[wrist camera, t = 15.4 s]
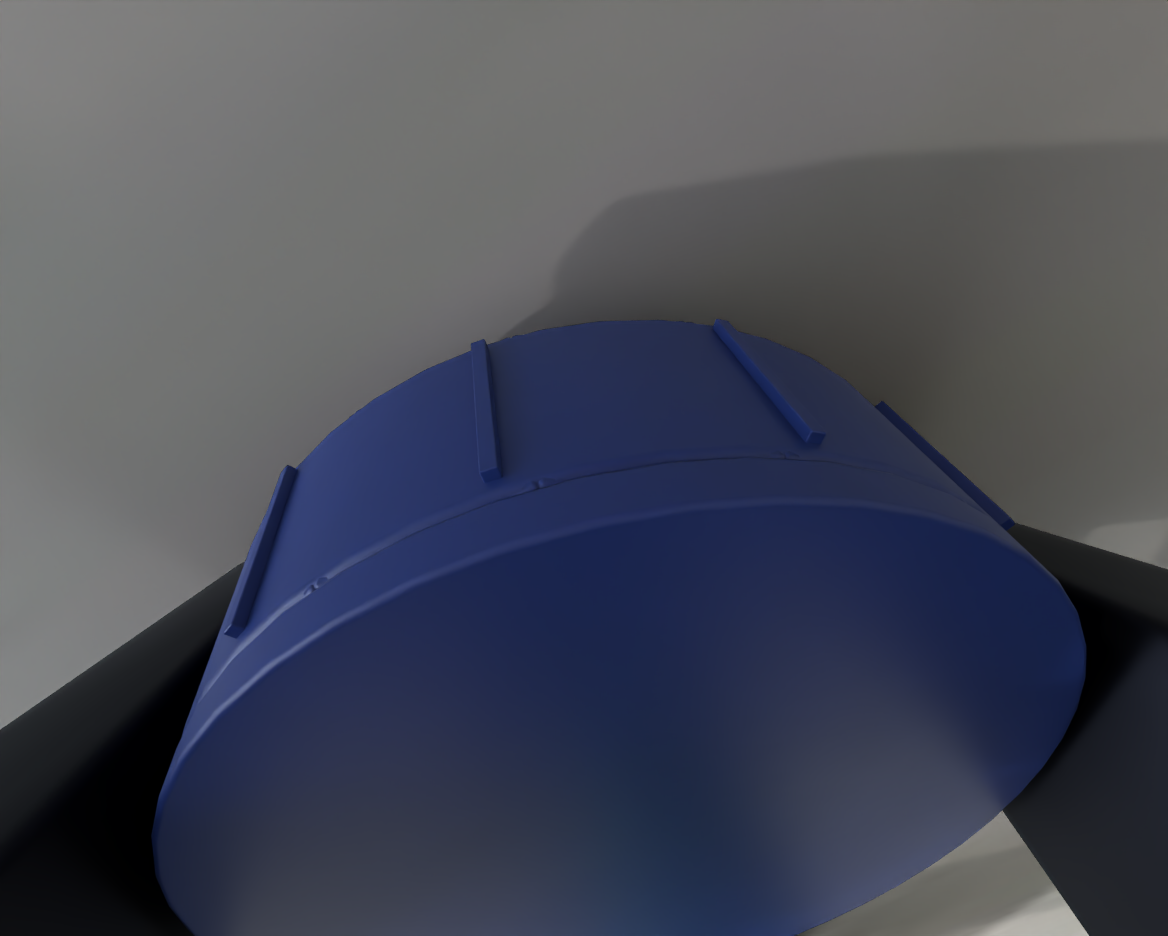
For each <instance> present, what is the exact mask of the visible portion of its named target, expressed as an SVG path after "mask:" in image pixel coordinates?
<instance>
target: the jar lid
mask: <svg viewBox="0 0 1168 936" xmlns="http://www.w3.org/2000/svg"><path fill="white" fill-rule="evenodd" d="M1014 525H1015V523H1014V521H1013V520H1012V519H1011V518H1010V517H1009V516H1008V515H1007V514H1006V513H1005V512H1004V511H1003V510H1002V509H1001V508H1000V507H998V506H997V505H996V504H995V503H994V502H993V501H992V500H991V499H990V498H989V497H987V496H986V495H985V494H984V493H983V492H982V491H981V490H980V489H979V488H978V487H976V486H975V485H974V484H973V483H972V482H971V481H970V480H969V479H968V478H967V477H966V476H964V475H963V474H962V473H961V472H960V471H959V470H958V469H957V468H956V467H955V466H953V465H952V464H951V463H950V462H949V461H948V460H947V459H946V458H945V457H944V456H943V455H941V454H940V453H939V452H938V451H937V450H936V449H935V448H934V447H933V446H932V445H930V444H929V443H928V442H927V441H926V440H925V439H924V438H923V437H922V436H921V435H919V434H918V433H917V432H916V431H915V430H914V429H913V428H912V427H911V426H910V425H909V424H907V423H906V422H905V421H904V420H903V419H902V418H901V417H900V416H899V415H898V414H896V413H895V412H894V411H893V410H892V409H891V408H890V407H889V406H888V405H887V404H885V403H884V402H883V401H881V402H880V403H879V404H877V405H876V406H875V407H874V406H873V405H872V404H871V403H870V402H869V401H868V400H867V399H866V398H864V397H863V396H862V395H861V394H860V393H859V392H858V391H857V390H856V389H855V388H854V387H853V386H852V385H851V384H849V383H848V382H847V381H846V380H845V379H843V378H842V377H840V376H839V375H837V374H835V373H834V372H832V371H831V370H829V369H828V368H826V367H825V366H823V365H821V364H820V363H818V362H817V361H815V360H814V359H812V358H810V357H808V356H806V355H804V354H801V353H799V352H797V351H794V350H792V349H790V348H787V347H785V346H782V345H780V344H778V343H775V342H773V341H771V340H768V339H766V338H762V337H758V336H754V335H750V334H746V333H742V332H738V331H737V330H736V329H735V328H734V327H733V326H732V325H731V324H730V323H729V321H726V320H721V319H716V320H715V323H714V326H712V325H703V324H695V323H692V322H686V323H685V322H683V321H676V322H675V321H666V320H631V321H598V322H591V323H584V324H578V325H571V326H564V327H557V328H551V329H544V330H539V331H535V332H532V333H528V334H524V335H515V336H513V337H512V338H505V339H503V340H501V341H499V342H495V343H492V344H488V345H487V344H486V341H485V340H484V339H482V340H479V341H477V342H474V343H471V351H469V352H467V353H464V354H462V355H460V356H457V357H455V358H452V359H450V360H448V361H445V362H443V363H440V364H438V365H435V366H433V367H431V368H428V369H426V370H424V371H422V372H421V373H419V374H417V375H415V376H414V377H412V378H410V379H408V380H407V381H405V382H403V383H401V384H400V385H398V386H396V387H394V388H393V389H391V390H389V391H387V392H386V393H384V394H382V395H380V396H379V397H377V398H375V399H374V400H372V401H371V402H370V403H368V404H367V405H366V406H365V407H363V408H362V409H360V410H358V411H357V412H356V413H355V414H354V415H352V416H350V417H349V419H348V420H346V421H345V422H344V423H342V424H341V425H340V426H339V427H337V428H336V429H335V430H333V431H332V432H331V433H330V434H329V435H328V436H327V437H326V438H325V439H324V440H323V441H322V442H321V443H320V444H319V445H318V446H317V447H316V448H315V449H314V450H313V451H312V452H311V453H310V454H309V455H308V456H307V457H306V459H305V460H304V461H303V462H302V463H301V464H300V465H299V466H298V467H297V468H296V469H295V468H293V467H291V466H289V465H287V466H286V467H285V469H284V470H283V471H282V472H281V474H280V477H279V480H278V482H277V485H276V488H275V491H274V494H273V496H272V499H271V502H270V505H269V507H268V510H267V512H266V514H265V516H264V519H263V521H262V523H261V525H260V527H259V530H258V532H257V534H256V536H255V538H254V540H253V543H252V545H251V547H250V550H249V553H248V556H247V558H246V561H245V564H244V566H243V569H242V572H241V575H240V577H239V580H238V583H237V585H236V588H235V591H234V594H233V596H232V599H231V602H230V604H229V607H228V610H227V613H226V615H225V618H224V621H223V623H222V626H221V629H220V632H219V634H218V637H217V640H216V642H215V645H214V648H213V651H212V653H211V656H210V659H209V661H208V664H207V667H206V670H205V672H204V675H203V678H202V680H201V683H200V686H199V689H198V691H197V694H196V697H195V699H194V702H193V705H192V708H191V710H190V713H189V716H188V718H187V721H186V724H185V727H184V730H183V735H182V738H181V740H180V742H179V744H178V746H177V748H176V751H175V754H174V756H173V759H172V762H171V765H170V767H169V770H168V773H167V775H166V778H165V781H164V784H163V786H162V789H161V792H160V794H159V798H158V803H157V808H156V813H155V818H154V824H153V829H152V834H151V839H152V848H153V857H154V866H155V875H156V878H157V881H158V883H159V885H160V887H161V890H162V892H163V894H164V896H165V899H166V901H167V903H168V905H169V907H170V908H171V909H172V911H173V912H174V913H175V914H176V916H177V917H178V918H179V919H180V920H181V922H182V923H183V924H184V925H185V927H186V928H187V929H188V930H189V931H190V932H191V933H192V934H193V935H195V936H795V935H797V934H799V933H802V932H804V931H806V930H809V929H811V928H814V927H816V926H818V925H821V924H823V923H825V922H828V921H830V920H832V919H834V918H836V917H838V916H840V915H842V914H844V913H846V912H849V911H851V910H853V909H855V908H857V907H859V906H861V905H863V904H865V903H867V902H869V901H871V900H872V899H874V898H876V897H878V896H880V895H882V894H884V893H885V892H887V891H889V890H891V889H893V888H895V887H896V886H898V885H900V884H902V883H903V882H905V881H906V880H908V879H910V878H911V877H913V876H915V875H916V874H918V873H920V872H921V871H923V870H924V869H926V868H928V867H929V866H931V865H932V864H934V863H935V862H937V861H938V860H940V859H941V858H942V857H944V856H945V855H947V854H948V853H950V852H951V851H952V850H954V849H955V848H957V847H958V846H960V845H961V844H962V843H964V842H965V841H966V840H967V839H969V838H970V837H971V836H972V835H974V834H975V833H976V832H977V831H979V830H980V829H981V828H982V827H984V826H985V825H986V824H987V823H989V822H990V821H991V820H992V819H993V818H994V817H995V816H996V815H997V814H999V813H1000V812H1001V811H1002V810H1003V809H1004V808H1005V807H1006V806H1007V805H1008V804H1009V803H1010V802H1011V801H1012V800H1013V799H1014V798H1016V797H1017V796H1018V795H1019V794H1020V793H1021V791H1022V790H1023V789H1024V788H1025V787H1026V786H1027V785H1028V783H1029V782H1030V781H1031V780H1032V779H1033V778H1034V777H1035V775H1036V774H1037V773H1038V772H1039V771H1040V770H1041V769H1042V768H1043V766H1044V765H1045V763H1046V762H1047V760H1048V759H1049V758H1050V756H1051V755H1052V753H1053V752H1054V750H1055V749H1056V747H1057V746H1058V744H1059V743H1060V742H1061V740H1062V739H1063V737H1064V735H1065V733H1066V731H1067V729H1068V726H1069V724H1070V722H1071V720H1072V718H1073V716H1074V714H1075V712H1076V710H1077V708H1078V704H1079V700H1080V697H1081V693H1082V689H1083V686H1084V682H1085V678H1086V643H1085V639H1084V635H1083V631H1082V627H1081V623H1080V619H1079V616H1078V613H1077V610H1076V609H1075V607H1074V605H1073V604H1072V602H1071V601H1070V599H1069V597H1068V596H1067V594H1066V592H1065V591H1064V589H1063V587H1062V586H1061V584H1060V582H1059V581H1058V580H1057V579H1056V578H1055V577H1054V576H1053V575H1052V574H1051V573H1050V572H1049V571H1048V570H1047V569H1046V568H1045V567H1044V566H1043V565H1042V564H1041V563H1039V562H1038V561H1037V560H1036V559H1035V558H1034V557H1033V556H1032V555H1031V554H1030V553H1029V552H1028V551H1027V550H1026V549H1025V548H1024V547H1022V546H1021V545H1020V544H1019V543H1018V542H1017V541H1016V540H1015V539H1014V538H1013V537H1012V536H1011V535H1010V534H1009V533H1008V532H1007V530H1008V529H1010V528H1011V527H1013V526H1014Z"/></svg>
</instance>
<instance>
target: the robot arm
mask: <svg viewBox="0 0 1168 936" xmlns="http://www.w3.org/2000/svg"><path fill="white" fill-rule="evenodd" d="M1007 532H1008V533H1009V534H1010V535H1011V536H1012V537H1013V538H1014V539H1015V540H1016V541H1017V542H1018V543H1019V544H1020V545H1021V546H1022V547H1024V548H1025V549H1026V550H1027V551H1028V552H1029V553H1030V554H1031V555H1032V556H1033V557H1034V558H1035V559H1036V560H1037V561H1038V562H1039V563H1041V564H1042V565H1043V566H1044V567H1045V568H1046V569H1047V570H1048V571H1049V572H1050V573H1051V574H1052V575H1053V576H1054V577H1055V578H1056V579H1057V580H1058V581H1059V582H1060V584H1061V586H1062V587H1063V589H1064V591H1065V592H1066V594H1067V596H1068V597H1069V599H1070V601H1071V602H1072V604H1073V605H1074V607H1075V609H1076V610H1077V613H1078V616H1079V619H1080V623H1081V627H1082V631H1083V635H1084V639H1085V643H1086V678H1085V682H1084V686H1083V689H1082V693H1081V697H1080V700H1079V704H1078V708H1077V710H1076V712H1075V714H1074V716H1073V718H1072V720H1071V722H1070V724H1069V726H1068V729H1067V731H1066V733H1065V735H1064V737H1063V739H1062V740H1061V742H1060V743H1059V744H1058V746H1057V747H1056V749H1055V750H1054V752H1053V753H1052V755H1051V756H1050V758H1049V759H1048V760H1047V762H1046V763H1045V765H1044V766H1043V768H1042V769H1041V770H1040V771H1039V772H1038V773H1037V774H1036V775H1035V777H1034V778H1033V779H1032V780H1031V781H1030V782H1029V783H1028V785H1027V786H1026V787H1025V788H1024V789H1023V790H1022V791H1021V793H1020V794H1019V795H1018V796H1017V797H1016V798H1014V799H1013V800H1012V801H1011V802H1010V803H1009V804H1008V805H1007V806H1006V807H1005V808H1004V809H1003V812H1004V813H1005V815H1006V816H1007V818H1008V819H1009V821H1010V822H1011V823H1012V825H1013V826H1014V828H1015V829H1016V831H1017V832H1018V834H1019V835H1020V836H1021V838H1022V839H1023V841H1024V842H1025V844H1026V845H1027V847H1028V848H1029V849H1030V851H1031V852H1032V854H1033V855H1034V857H1035V858H1036V859H1037V861H1038V862H1039V864H1040V865H1041V867H1042V868H1043V870H1044V871H1045V872H1046V874H1047V875H1048V877H1049V878H1050V880H1051V881H1052V883H1053V884H1054V885H1055V887H1056V888H1057V890H1058V891H1059V893H1060V894H1061V896H1062V897H1063V898H1064V900H1065V901H1066V903H1067V904H1068V906H1069V907H1070V909H1071V910H1072V911H1073V913H1074V914H1075V916H1076V917H1077V919H1078V920H1079V921H1080V923H1081V924H1082V926H1083V927H1084V929H1085V930H1086V932H1087V933H1088V934H1089V936H1168V569H1165V568H1161V567H1158V566H1155V565H1152V564H1148V563H1145V562H1142V561H1138V560H1135V559H1132V558H1129V557H1125V556H1122V555H1119V554H1116V553H1112V552H1109V551H1106V550H1102V549H1099V548H1096V547H1093V546H1089V545H1086V544H1083V543H1080V542H1076V541H1073V540H1070V539H1066V538H1063V537H1060V536H1057V535H1053V534H1050V533H1047V532H1044V531H1040V530H1037V529H1034V528H1030V527H1027V526H1024V525H1021V524H1017V523H1015V525H1014V526H1013V527H1011V528H1010V529H1008V530H1007ZM244 564H245V562H243V563H241V564H240V565H238V566H237V567H235V568H234V569H232V570H231V571H229V572H228V573H227V574H225V575H224V576H222V577H221V578H219V579H218V580H216V581H215V582H213V583H212V584H211V585H209V586H208V587H206V588H205V589H203V590H202V591H200V592H199V593H198V594H196V595H195V596H193V597H192V598H190V599H189V600H187V601H186V602H185V603H183V604H182V605H180V606H179V607H177V608H176V609H174V610H173V611H172V612H170V613H169V614H167V615H166V616H164V617H163V618H161V619H160V620H158V621H157V622H156V623H154V624H153V625H151V626H150V627H148V628H147V629H145V630H144V631H143V632H141V633H140V634H138V635H137V636H135V637H134V638H132V639H131V640H130V641H128V642H127V643H125V644H124V645H122V646H121V647H119V648H118V649H117V650H115V651H114V652H112V653H111V654H109V655H108V656H106V657H105V658H103V659H102V660H101V661H99V662H98V663H96V664H95V665H93V666H92V667H90V668H89V669H88V670H86V671H85V672H83V673H82V674H80V675H79V676H77V677H76V678H75V679H73V680H72V681H70V682H69V683H67V684H66V685H64V686H63V687H62V688H60V689H59V690H57V691H56V692H54V693H53V694H51V695H50V696H48V697H47V698H46V699H44V700H43V701H41V702H40V703H38V704H37V705H35V706H34V707H33V708H31V709H30V710H28V711H27V712H25V713H24V714H22V715H21V716H20V717H18V718H17V719H15V720H14V721H12V722H11V723H9V724H8V725H7V726H5V727H4V728H2V729H1V730H0V936H195V935H193V934H192V933H191V932H190V931H189V930H188V929H187V928H186V927H185V925H184V924H183V923H182V922H181V920H180V919H179V918H178V917H177V916H176V914H175V913H174V912H173V911H172V909H171V908H170V907H169V905H168V903H167V901H166V899H165V896H164V894H163V892H162V890H161V887H160V885H159V883H158V881H157V878H156V875H155V866H154V857H153V848H152V839H151V834H152V829H153V824H154V818H155V813H156V808H157V803H158V798H159V794H160V792H161V789H162V786H163V784H164V781H165V778H166V775H167V773H168V770H169V767H170V765H171V762H172V759H173V756H174V754H175V751H176V748H177V746H178V744H179V742H180V740H181V738H182V735H183V730H184V727H185V724H186V721H187V718H188V716H189V713H190V710H191V708H192V705H193V702H194V699H195V697H196V694H197V691H198V689H199V686H200V683H201V680H202V678H203V675H204V672H205V670H206V667H207V664H208V661H209V659H210V656H211V653H212V651H213V648H214V645H215V642H216V640H217V637H218V634H219V632H220V629H221V626H222V623H223V621H224V618H225V615H226V613H227V610H228V607H229V604H230V602H231V599H232V596H233V594H234V591H235V588H236V585H237V583H238V580H239V577H240V575H241V572H242V569H243V566H244Z"/></svg>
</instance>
